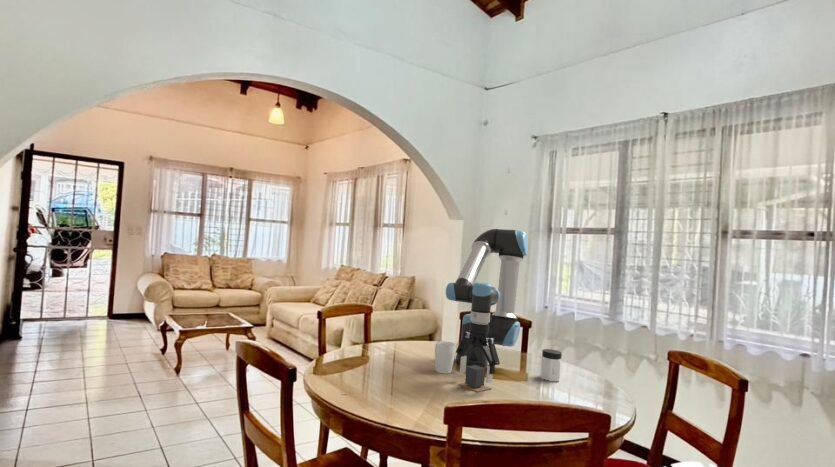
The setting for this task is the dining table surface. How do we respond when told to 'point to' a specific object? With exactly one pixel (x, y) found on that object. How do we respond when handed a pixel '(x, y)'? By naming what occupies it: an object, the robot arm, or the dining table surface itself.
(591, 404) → the dining table surface
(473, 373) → the charcoal cuboid
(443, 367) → the cup
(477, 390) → the teal post on base
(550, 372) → the jar
